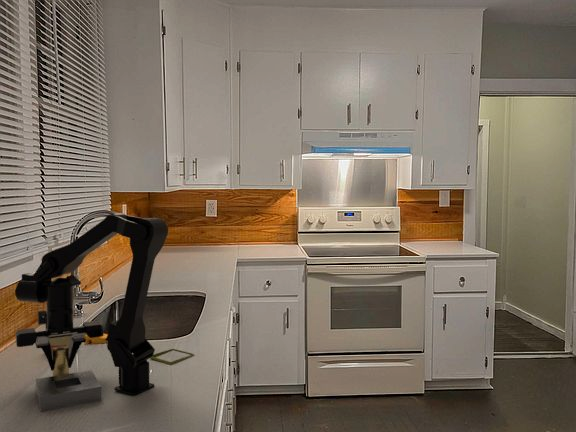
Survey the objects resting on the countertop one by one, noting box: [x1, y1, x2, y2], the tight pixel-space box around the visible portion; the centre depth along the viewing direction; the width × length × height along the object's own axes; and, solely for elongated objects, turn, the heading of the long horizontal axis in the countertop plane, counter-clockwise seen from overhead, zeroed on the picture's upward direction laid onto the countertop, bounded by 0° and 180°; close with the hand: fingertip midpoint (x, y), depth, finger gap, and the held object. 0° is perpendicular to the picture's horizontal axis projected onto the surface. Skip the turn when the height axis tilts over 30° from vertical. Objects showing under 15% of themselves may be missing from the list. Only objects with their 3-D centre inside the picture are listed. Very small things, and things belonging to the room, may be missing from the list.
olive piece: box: [150, 348, 195, 365], centre depth 141 cm, size 9×9×2 cm
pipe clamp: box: [83, 321, 108, 345], centre depth 156 cm, size 12×4×6 cm, turn 95°
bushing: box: [52, 346, 70, 376], centre depth 125 cm, size 4×4×7 cm
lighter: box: [45, 328, 70, 354], centre depth 148 cm, size 7×4×10 cm, turn 99°
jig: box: [35, 369, 102, 412], centre depth 116 cm, size 12×12×3 cm
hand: (60, 368), depth 125 cm, fingers closed on bushing, 3 cm apart
